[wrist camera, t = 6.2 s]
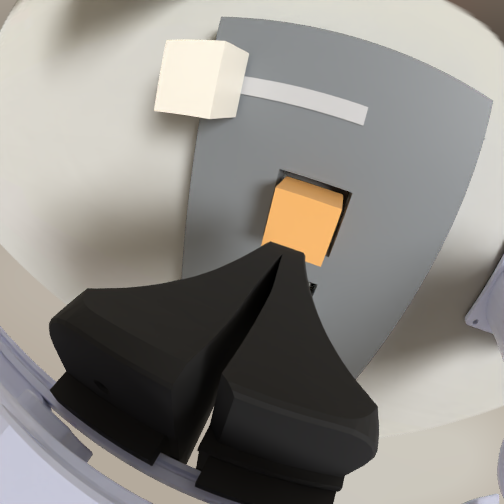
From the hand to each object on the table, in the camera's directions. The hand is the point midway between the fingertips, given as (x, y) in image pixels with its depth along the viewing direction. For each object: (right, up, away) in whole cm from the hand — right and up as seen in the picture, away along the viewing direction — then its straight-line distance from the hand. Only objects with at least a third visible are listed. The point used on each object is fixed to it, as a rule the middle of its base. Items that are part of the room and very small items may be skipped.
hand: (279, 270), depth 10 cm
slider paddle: (-3, +10, +3) cm, 11 cm away
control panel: (+3, +3, +7) cm, 8 cm away
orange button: (+2, +3, +5) cm, 6 cm away
